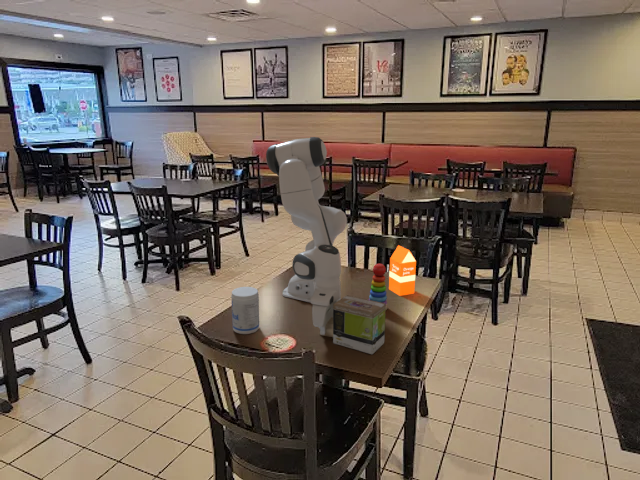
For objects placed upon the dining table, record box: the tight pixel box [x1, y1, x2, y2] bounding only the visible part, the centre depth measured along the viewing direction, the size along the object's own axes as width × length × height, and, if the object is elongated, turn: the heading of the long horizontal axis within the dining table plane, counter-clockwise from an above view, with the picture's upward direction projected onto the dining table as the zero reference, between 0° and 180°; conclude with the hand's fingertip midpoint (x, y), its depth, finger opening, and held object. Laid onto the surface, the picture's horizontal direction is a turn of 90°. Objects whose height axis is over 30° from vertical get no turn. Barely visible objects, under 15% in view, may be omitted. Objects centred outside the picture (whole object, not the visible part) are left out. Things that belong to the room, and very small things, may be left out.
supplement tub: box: [230, 286, 260, 335], centre depth 163 cm, size 10×10×15 cm
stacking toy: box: [368, 263, 388, 311], centre depth 179 cm, size 8×8×19 cm
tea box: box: [332, 294, 386, 355], centre depth 153 cm, size 15×10×15 cm, turn 58°
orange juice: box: [388, 244, 417, 297], centre depth 197 cm, size 8×9×20 cm
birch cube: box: [319, 317, 333, 338], centre depth 161 cm, size 5×5×5 cm
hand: (327, 328), depth 161 cm, fingers open, 8 cm apart
